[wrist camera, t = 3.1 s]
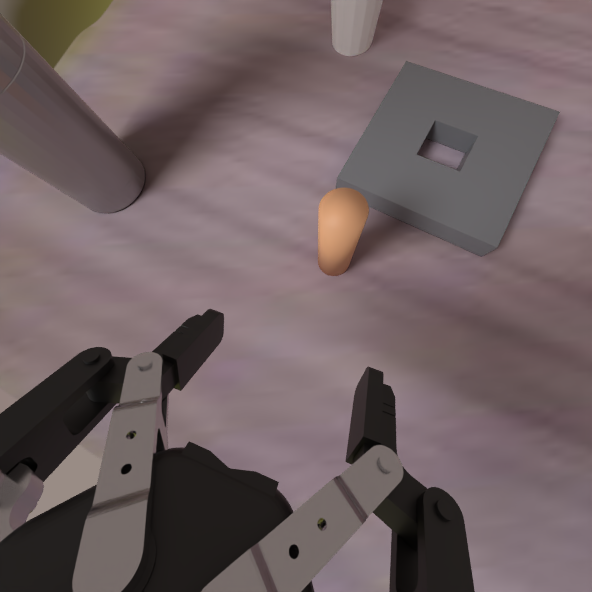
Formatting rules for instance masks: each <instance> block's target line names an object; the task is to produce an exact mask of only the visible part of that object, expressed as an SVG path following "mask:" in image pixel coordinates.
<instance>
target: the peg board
mask: <svg viewBox="0 0 592 592" xmlns="http://www.w3.org/2000/svg"><path fill="white" fill-rule="evenodd" d="M559 113H560V112H559V111H556V110H553V109H550V108H547V107H544V106H541V105H538V104H535V103H532V102H529V101H526V100H522V99H519V98H516V97H513V96H510V95H507V94H504V93H501V92H498V91H495V90H492V89H489V88H486V87H483V86H480V85H477V84H474V83H471V82H468V81H465V80H462V79H459V78H456V77H453V76H450V75H447V74H444V73H441V72H438V71H435V70H432V69H429V68H426V67H423V66H420V65H417V64H414V63H411V62H408V61H406V62H405V64H404V66H403V67H402V69H401V71H400V72H399V74H398V76H397V78H396V79H395V81H394V83H393V84H392V86H391V88H390V89H389V91H388V93H387V94H386V96H385V98H384V100H383V101H382V103H381V105H380V106H379V108H378V110H377V111H376V113H375V115H374V116H373V118H372V120H371V121H370V123H369V125H368V127H367V128H366V130H365V132H364V133H363V135H362V137H361V138H360V140H359V142H358V143H357V145H356V147H355V148H354V150H353V152H352V154H351V155H350V157H349V159H348V160H347V162H346V164H345V165H344V167H343V169H342V170H341V172H340V174H339V175H338V177H337V183H336V189H337V188H351V189H354V190H356V191H358V192H359V193H361V194H362V195H363V196H364V197H365V199H366V201H367V203H368V206H369V207H372V208H374V209H376V210H378V211H380V212H383V213H385V214H387V215H389V216H392V217H394V218H396V219H398V220H401V221H403V222H405V223H407V224H410V225H412V226H414V227H416V228H418V229H421V230H423V231H425V232H427V233H430V234H432V235H434V236H436V237H439V238H441V239H443V240H445V241H448V242H450V243H452V244H454V245H457V246H459V247H461V248H463V249H465V250H468V251H470V252H472V253H474V254H477V255H479V256H481V257H482V256H484V255H485V254H487V253H489V252H491V251H492V250H494V249H496V248H497V247H498V245H499V243H500V241H501V239H502V237H503V234H504V232H505V230H506V228H507V226H508V223H509V221H510V219H511V217H512V215H513V213H514V210H515V208H516V206H517V204H518V202H519V200H520V197H521V195H522V193H523V191H524V189H525V187H526V184H527V182H528V180H529V178H530V176H531V173H532V171H533V169H534V167H535V165H536V163H537V160H538V158H539V156H540V154H541V152H542V150H543V147H544V145H545V143H546V141H547V139H548V137H549V134H550V132H551V130H552V128H553V126H554V123H555V121H556V119H557V117H558V115H559ZM426 138H427V139H430V140H432V141H435V142H438V143H440V144H443V145H446V146H448V147H451V148H453V149H456V150H459V151H461V152H464V153H465V155H464V157H463V159H462V161H461V163H460V165H459V167H458V168H457V170H455V169H452V168H450V167H447V166H445V165H442V164H440V163H437V162H435V161H432V160H429V159H427V158H424V157H422V156H419V155H417V153H418V152H419V150H420V148H421V146H422V144H423V142H424V141H425V139H426Z"/></svg>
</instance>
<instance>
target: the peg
mask: <svg viewBox="0 0 592 592" xmlns="http://www.w3.org/2000/svg"><path fill="white" fill-rule="evenodd" d="M368 213H369V207H368V203H367V201H366V199H365V197H364V196H363V195H362V194H361V193H359V192H358V191H356V190H354V189H351V188H337V189H334V190H332V191H330V192H328V193H327V194H326V195H325V196H324V197H323V198H322V200H321V202H320V205H319V221H318V265H319V267H320V269H321V270H322V271H323V272H324V273H325V274H327V275H330V276H338V275H341V274H343V273H344V272H345V271H346V270H347V269H348V267H349V264H350V261H351V259H352V256H353V254H354V251H355V248H356V246H357V243H358V241H359V238H360V235H361V233H362V230H363V227H364V225H365V222H366V220H367V217H368Z"/></svg>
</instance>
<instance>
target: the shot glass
mask: <svg viewBox="0 0 592 592" xmlns="http://www.w3.org/2000/svg"><path fill="white" fill-rule="evenodd" d="M382 2H383V0H331V20H332V45H333V47H334V49H335V50H336V51H337V52H338V53H340V54H342V55H346V56H356V55H360V54H362V53H364V52H366V51H367V50H368V49H369V48H370V46H371V43H372V41H373V37H374V33H375V29H376V25H377V21H378V18H379V14H380V10H381V6H382Z"/></svg>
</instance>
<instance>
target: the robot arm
mask: <svg viewBox="0 0 592 592" xmlns="http://www.w3.org/2000/svg"><path fill="white" fill-rule="evenodd" d="M0 154H1V155H3V156H5V157H6V158H8V159H9V160H11V161H13V162H14V163H16V164H18V165H19V166H21V167H22V168H24V169H26V170H27V171H29V172H31V173H32V174H34V175H36V176H37V177H39V178H40V179H42V180H44V181H45V182H47V183H49V184H50V185H52V186H53V187H55V188H57V189H58V190H60V191H61V192H63V193H65V194H66V195H68V196H69V197H71V198H73V199H74V200H76V201H78V202H79V203H81V204H83V205H84V206H86V207H88V208H89V209H91V210H93V211H95V212H99V213H112V212H116V211H119V210H121V209H123V208H125V207H127V206H128V205H129V204H131V203H132V202H133V201H134V200H135V199H136V198H137V197H138V195H139V194H140V192H141V190H142V188H143V185H144V181H145V171H144V168H143V165H142V163H141V162H140V161H139V159H138V158H137V157H136V156H135V155H134V154H133V153H132V152H131V151H130V150H129V149H128V148H127V147H126V146H125V144H124V143H123V142H122V141H121V140H120V139H119V138H118V137H117V136H116V135H115V134H114V133H113V132H112V131H111V129H110V128H109V127H108V126H107V125H106V124H105V123H104V122H103V121H102V120H101V119H100V118H99V117H98V116H97V115H96V114H95V113H94V111H93V110H92V109H91V108H90V107H89V106H88V105H87V104H86V103H85V102H84V101H83V100H82V99H81V98H80V97H79V96H78V95H77V93H76V92H75V91H74V90H73V89H72V88H71V87H70V86H69V85H68V84H67V83H66V82H65V81H64V80H63V79H62V78H61V77H60V76H59V74H58V73H57V72H56V71H55V70H54V69H53V68H52V67H51V66H50V65H49V64H48V63H47V62H46V61H45V60H44V59H43V58H42V57H41V55H39V54H38V53H37V51H36V50H35V49H34V48H33V47H32V46H31V45H30V44H29V43H28V42H27V41H26V40H25V39H24V38H23V36H22V35H21V34H20V33H19V32H18V31H17V30H16V29H15V28H14V27H13V26H12V25H11V24H10V23H9V22H8V21H7V20H6V19H5V18H4V17H3V16H2V14H1V13H0ZM223 333H224V314H223V313H221V312H218V311H215V310H212V309H209V310H207V311H206V312H205V313H204V314H203V315H202V316H201V315H195V316H193V317H191V318H189V319H187V320H186V321H185V322H184V323H183V324H182V325H181V326H180V327H179V328H178V329H176V331H175V332H173V333H172V334H171V335H170V336H169V337H168V338H167V339H166V340H164V341H163V342H162V343H161V344H160V345H159V346H158V347H157V348H156V349H155V350H153V351H152V352H145V353H141V354H138V355H136V356H135V357H133V358H125V357H113V356H112V355H111V352H110V351H109V350H108V349H106V348H103V347H95V348H90V349H87V350H85V351H83V352H81V353H79V354H78V355H77V356H75V357H74V358H73V359H71V360H70V361H69V362H67V363H66V364H65V365H64V366H62V367H61V368H60V369H58V370H57V371H56V372H54V373H53V374H52V375H50V376H49V377H48V378H46V379H45V380H44V381H43V382H41V383H40V384H39V385H37V386H36V387H35V388H33V389H32V390H31V391H29V392H28V393H27V394H26V395H24V396H23V397H22V398H20V399H19V400H18V401H16V402H15V403H14V404H12V405H11V406H10V407H9V408H7V409H6V410H5V411H3V412H2V413H1V414H0V592H314V588H313V584H312V579H313V578H314V577H315V576H316V575H317V574H318V573H319V572H320V570H321V569H322V568H323V567H324V566H325V565H326V564H327V563H328V562H329V561H330V560H331V558H332V557H333V556H334V555H335V554H336V553H337V552H338V551H339V550H340V549H341V547H342V546H343V545H344V544H345V543H346V542H347V541H348V540H349V539H350V538H351V537H352V535H353V534H354V533H355V532H356V531H357V530H358V529H359V528H360V527H361V526H362V524H363V523H364V522H365V521H366V519H367V518H368V516H369V515H370V514H371V513H372V512H373V513H374V514H375V515H376V516H378V517H379V518H380V519H381V520H382V521H383V522H384V523H385V524H386V525H387V526H388V527H390V528H391V529H392V542H391V566H390V591H389V592H475V591H474V585H473V578H472V571H471V564H470V558H469V551H468V544H467V537H466V531H465V524H464V518H463V515H462V512H461V510H460V508H459V506H458V504H457V503H456V502H455V500H454V499H453V498H452V497H451V496H450V495H449V494H448V493H447V492H445V491H444V490H442V489H440V488H436V487H431V488H429V489H427V488H426V487H425V486H423V485H422V484H421V483H420V482H418V481H417V480H416V479H415V478H413V477H412V476H411V475H410V474H409V473H408V472H407V471H406V470H405V469H404V468H403V466H402V463H401V461H400V459H399V458H398V456H397V450H396V418H395V416H396V413H395V396H394V393H393V391H392V389H391V386H388V385H385V384H383V372H381V371H379V370H376V369H373V368H370V367H367V368H366V370H365V372H364V374H363V376H362V377H361V379H360V381H359V383H358V385H357V388H356V391H355V395H354V402H353V409H352V417H351V425H350V432H349V440H348V447H347V455H346V462H347V463H350V464H352V465H351V466H350V467H349V468H348V469H347V470H345V471H344V472H343V473H342V474H341V475H339V476H338V477H335V478H334V479H332V480H331V481H330V482H329V483H327V484H326V485H325V486H324V487H323V488H322V489H320V490H319V491H318V492H317V493H316V494H315V495H313V496H312V497H311V498H310V499H309V500H308V501H306V502H305V503H304V504H303V505H302V506H301V507H299V508H298V509H297V510H296V511H295V512H293V510H292V508H291V506H290V504H289V503H288V501H287V500H286V498H285V497H284V496H283V495H282V493H281V492H280V491H278V490H277V486H278V483H279V482H277V481H275V480H273V479H271V478H268V477H266V476H264V475H262V474H260V473H257V472H254V471H246V470H238V469H231V468H228V467H227V466H226V465H225V464H224V463H223V462H222V461H221V460H219V459H218V458H217V457H216V456H215V455H214V454H213V453H212V452H211V451H209V450H207V449H205V448H202V447H200V446H198V445H196V444H194V443H191V442H188V444H187V446H186V447H185V448H171V449H168V433H167V429H168V404H169V393H170V391H171V390H172V389H173V388H175V389H178V390H180V391H181V390H182V389H183V388H184V386H185V385H186V384H187V383H188V382H189V380H190V379H191V378H192V377H193V375H194V374H195V373H196V372H197V370H198V369H199V368H200V367H201V366H202V364H203V363H204V362H205V361H206V359H207V358H208V357H209V356H210V355H211V353H212V352H213V351H214V350H215V348H216V347H217V346H218V345H219V343H220V342H221V340H222V337H223ZM117 403H119V406H116V407H115V408H114V410H113V412H112V417H111V421H110V426H109V431H108V435H107V440H106V445H105V449H104V454H103V459H102V463H101V468H100V473H99V478H98V482H97V485H95V486H93V487H91V488H89V489H88V490H86V491H84V492H82V493H80V494H78V495H76V496H74V497H72V498H70V499H69V500H67V501H65V502H63V503H61V504H59V505H57V506H55V507H53V508H51V509H50V510H48V511H46V512H44V513H42V514H40V515H38V516H37V517H34V518H33V519H31V520H29V521H27V522H26V519H27V517H28V515H29V514H30V513H31V512H32V511H33V510H34V508H35V507H36V505H37V502H38V501H39V499H40V497H41V495H42V492H43V488H44V485H43V482H44V481H45V480H46V479H47V477H48V476H49V475H50V474H51V473H52V472H53V471H54V470H55V469H56V468H57V467H58V466H59V464H61V463H62V461H63V460H64V459H65V458H66V457H67V456H68V455H69V454H70V453H71V452H72V451H73V450H74V449H75V448H76V446H77V445H78V444H79V443H80V442H81V441H82V440H83V439H84V438H85V437H86V436H87V435H88V434H89V432H90V431H91V430H92V429H93V428H94V427H95V426H96V425H97V424H98V423H99V422H100V421H101V420H102V419H103V417H104V416H105V415H106V414H107V413H108V412H109V411H110V410H111V409H112V408H113V407H114V406H115V405H116V404H117Z"/></svg>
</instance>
